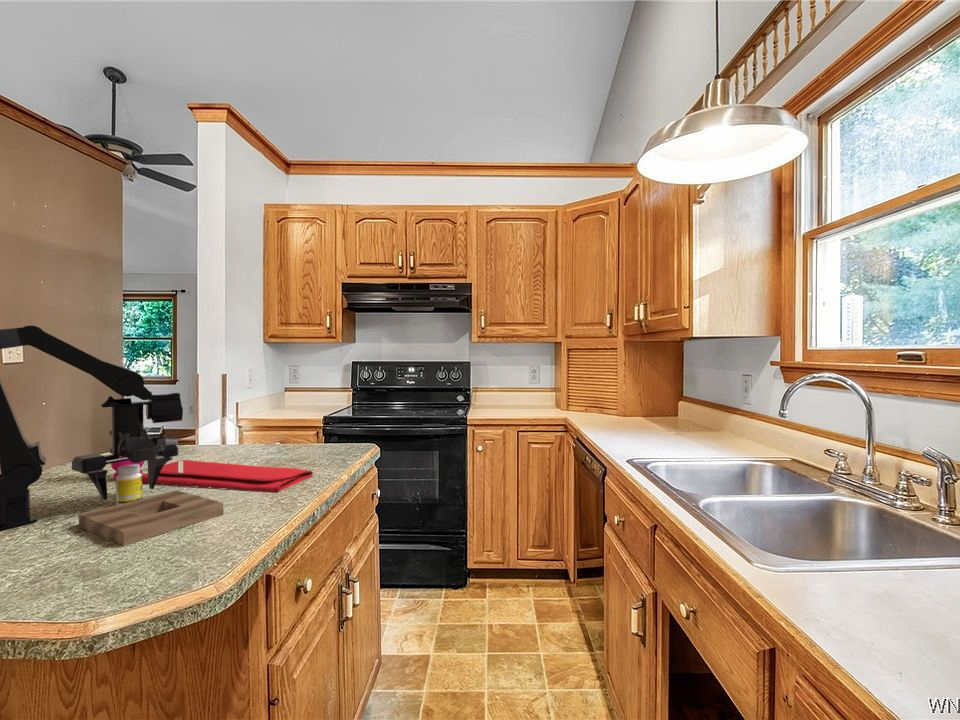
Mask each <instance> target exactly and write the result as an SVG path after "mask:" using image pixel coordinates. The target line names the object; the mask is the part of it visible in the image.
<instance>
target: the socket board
mask: <svg viewBox="0 0 960 720" xmlns="http://www.w3.org/2000/svg"><path fill="white" fill-rule="evenodd" d="M220 515H221V516H223V515H224V502H223V501H218V500H215V499H214V500H213V499H210V498H207V497H203V496H199V495H197V494H196V495H195V494H191V493H188V492H184V491H181V490H173V491H172V490H171V491H168V492H164V493H160V494H156V495H152V496H149V497H145V498H144V497H143V498H142V499H140V500H136V501H132V502H128V503H123V504H119V505H116V504H115V505H111V506H109V507H104V508H100V509H95V510H91V511H88V512H84V513H80V514H78V528H80V529H82V528H83V530H84V529H85V531H87V532H89V531H90V532H89V533H91V532H92V534H94V533H95V534H94V535H96V534H97V536H99V537H101V536H102V538H103V537H104V538H103V539H106V538H107V539H106V540H108V539H109V541H111V542H113V541H114V542H113V543H115V542H116V543H115V544H118V545H120V544H121V546H122V545H123V547H125V545H126V546H129V545H131V544H135V543H137V542H138V543H139V542H142V541H145V540H148V539H151V538H153V536H154V537H157V536H160V535H159V534H161V535H163V534H162V533H164V534H166V533H165V532H167V533H169V531H170V532H172V530H173V531H176V530H179V529H178V528H180V529H182V528H181V527H183V528H185V527H184V526H186V527H189V526H192V525H195V524H198V523H201V522H200V521H202V522H204V520H205V521H208V520H210V518H211V519H214V518H217V517H221V516H220ZM207 519H208V520H207ZM197 522H198V523H197ZM194 523H195V524H194ZM191 524H192V525H191ZM188 525H189V526H188ZM175 529H176V530H175ZM156 535H157V536H156ZM150 537H151V538H150ZM147 538H148V539H147ZM144 539H145V540H144ZM128 544H129V545H128Z"/></svg>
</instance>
